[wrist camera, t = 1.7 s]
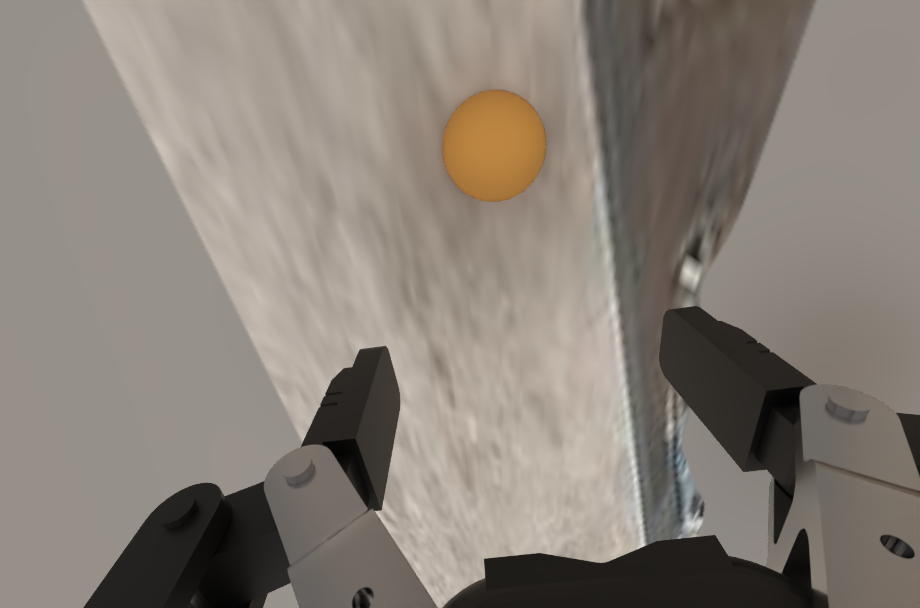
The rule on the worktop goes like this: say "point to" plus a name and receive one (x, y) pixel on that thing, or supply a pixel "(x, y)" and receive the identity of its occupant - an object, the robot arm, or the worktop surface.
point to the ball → (494, 145)
